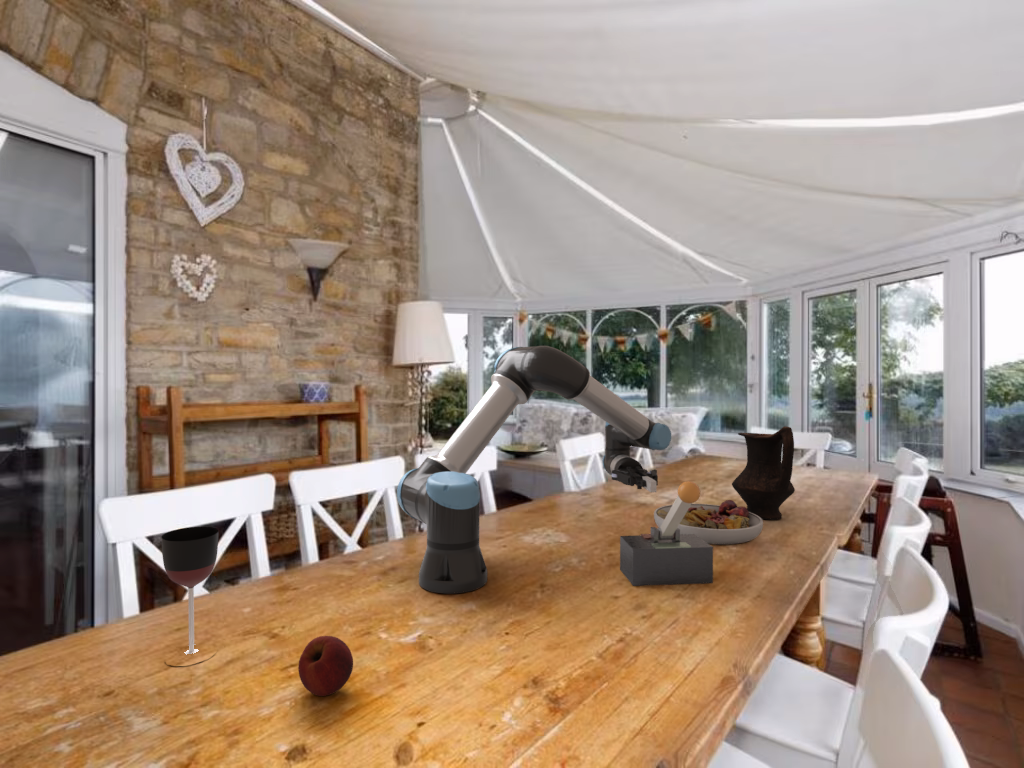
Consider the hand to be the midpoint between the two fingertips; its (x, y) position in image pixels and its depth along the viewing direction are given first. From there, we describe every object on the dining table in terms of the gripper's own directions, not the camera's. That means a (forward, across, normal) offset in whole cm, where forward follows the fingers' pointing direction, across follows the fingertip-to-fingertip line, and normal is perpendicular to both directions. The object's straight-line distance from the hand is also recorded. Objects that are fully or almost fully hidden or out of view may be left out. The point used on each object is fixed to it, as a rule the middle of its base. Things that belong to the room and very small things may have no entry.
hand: (653, 486), depth 136 cm
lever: (+9, +1, -9) cm, 13 cm away
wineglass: (+39, +90, -18) cm, 100 cm away
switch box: (+10, +1, -18) cm, 21 cm away
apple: (+51, +66, -18) cm, 85 cm away
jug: (-39, -50, -19) cm, 66 cm away
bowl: (-25, -24, -19) cm, 39 cm away
